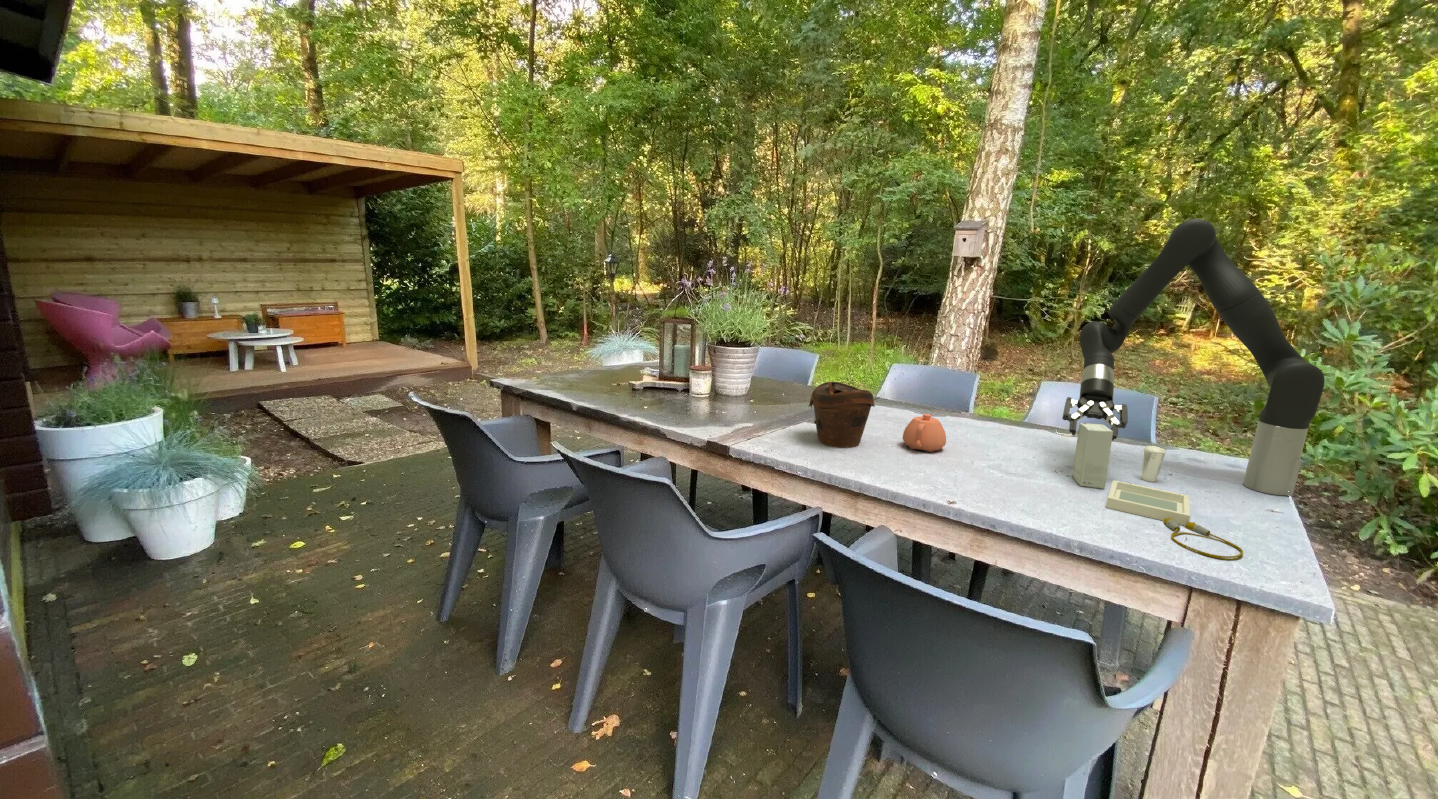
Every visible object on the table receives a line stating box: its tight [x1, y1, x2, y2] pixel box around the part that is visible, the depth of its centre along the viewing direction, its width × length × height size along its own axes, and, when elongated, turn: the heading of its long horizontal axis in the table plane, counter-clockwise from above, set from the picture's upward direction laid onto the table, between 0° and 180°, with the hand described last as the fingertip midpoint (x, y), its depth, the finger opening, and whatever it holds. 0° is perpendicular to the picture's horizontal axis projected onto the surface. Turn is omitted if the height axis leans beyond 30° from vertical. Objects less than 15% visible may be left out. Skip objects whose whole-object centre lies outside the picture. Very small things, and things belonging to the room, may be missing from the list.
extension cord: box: [1163, 518, 1244, 561], centre depth 121 cm, size 12×16×2 cm
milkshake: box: [1140, 443, 1171, 483], centre depth 156 cm, size 5×5×10 cm
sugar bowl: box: [902, 413, 947, 453], centre depth 176 cm, size 12×14×10 cm
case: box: [808, 381, 875, 448], centre depth 179 cm, size 18×20×18 cm
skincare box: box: [1071, 422, 1113, 490], centre depth 152 cm, size 8×6×15 cm
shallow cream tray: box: [1105, 479, 1191, 527], centre depth 139 cm, size 15×15×2 cm
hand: (1092, 436), depth 153 cm, fingers open, 8 cm apart
